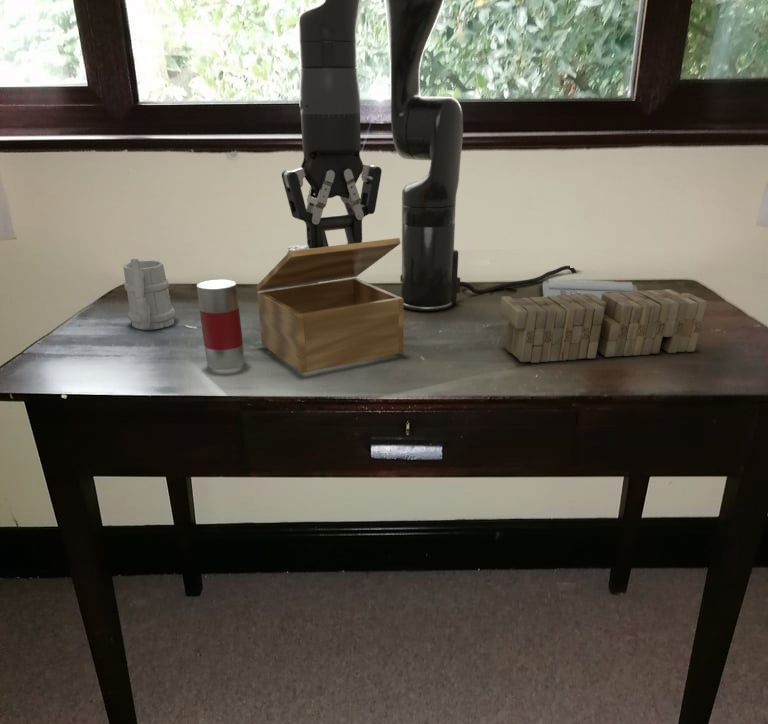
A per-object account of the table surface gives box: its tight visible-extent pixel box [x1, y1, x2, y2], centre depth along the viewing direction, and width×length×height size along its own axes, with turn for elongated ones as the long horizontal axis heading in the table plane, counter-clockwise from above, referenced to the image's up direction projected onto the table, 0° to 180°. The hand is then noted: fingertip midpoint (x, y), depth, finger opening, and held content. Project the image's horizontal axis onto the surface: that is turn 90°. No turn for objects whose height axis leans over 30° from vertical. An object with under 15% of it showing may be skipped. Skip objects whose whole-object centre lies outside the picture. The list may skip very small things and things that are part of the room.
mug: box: [122, 258, 176, 331], centre depth 119 cm, size 8×12×12 cm, turn 7°
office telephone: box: [542, 278, 639, 299], centre depth 132 cm, size 23×3×20 cm
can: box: [196, 279, 246, 371], centre depth 102 cm, size 5×5×12 cm
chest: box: [256, 277, 404, 374], centre depth 108 cm, size 15×17×9 cm
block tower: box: [499, 288, 708, 364], centre depth 108 cm, size 8×8×29 cm
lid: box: [256, 213, 401, 292], centre depth 104 cm, size 15×17×5 cm
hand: (335, 249), depth 100 cm, fingers closed on lid, 5 cm apart
